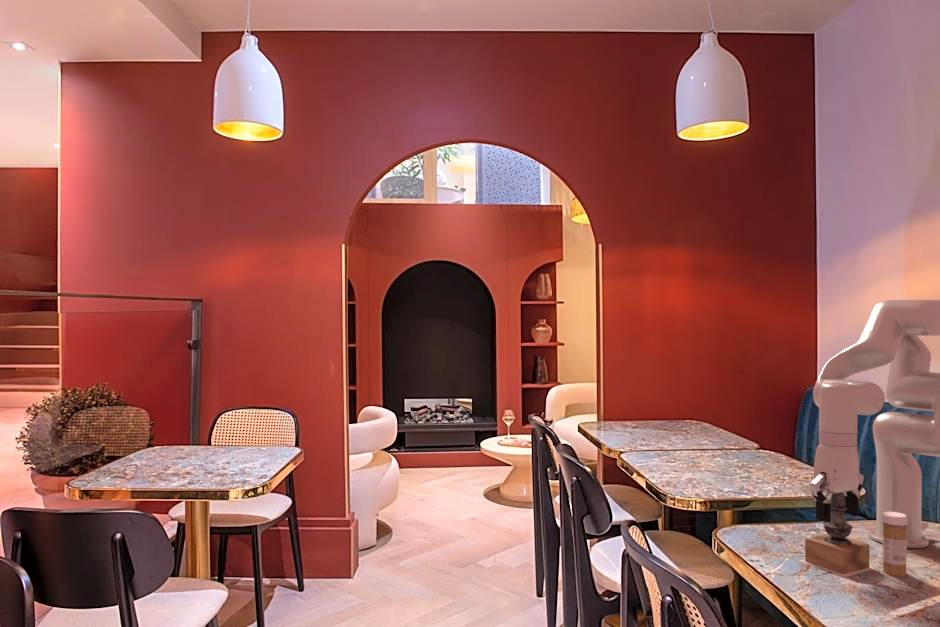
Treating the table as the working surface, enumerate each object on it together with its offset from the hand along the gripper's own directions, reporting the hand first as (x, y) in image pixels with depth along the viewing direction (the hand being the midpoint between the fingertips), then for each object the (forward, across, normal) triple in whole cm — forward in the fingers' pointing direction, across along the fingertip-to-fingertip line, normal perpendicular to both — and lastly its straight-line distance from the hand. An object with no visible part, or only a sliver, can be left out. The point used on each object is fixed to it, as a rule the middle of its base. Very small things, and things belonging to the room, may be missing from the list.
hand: (837, 517), depth 155 cm
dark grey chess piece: (+5, 0, 0) cm, 5 cm away
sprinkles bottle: (+11, -6, +9) cm, 16 cm away
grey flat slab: (+11, +1, 0) cm, 11 cm away
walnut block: (+10, 0, 0) cm, 10 cm away
